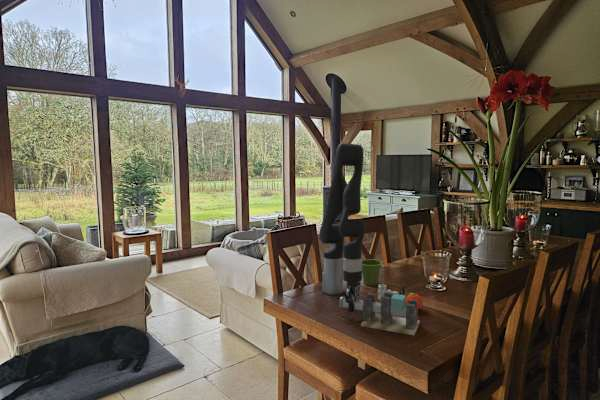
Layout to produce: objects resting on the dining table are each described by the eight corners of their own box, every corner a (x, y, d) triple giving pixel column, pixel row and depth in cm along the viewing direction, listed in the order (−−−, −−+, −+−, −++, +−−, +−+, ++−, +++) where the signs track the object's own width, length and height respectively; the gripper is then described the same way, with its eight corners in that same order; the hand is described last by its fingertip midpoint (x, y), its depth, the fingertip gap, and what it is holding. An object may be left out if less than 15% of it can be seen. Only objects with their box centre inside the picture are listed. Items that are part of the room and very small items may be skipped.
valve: (377, 301, 176) (404, 303, 173) (377, 287, 175) (404, 289, 172) (378, 296, 182) (404, 298, 179) (378, 282, 182) (404, 284, 178)
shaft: (339, 308, 158) (339, 298, 158) (343, 305, 162) (342, 294, 162) (413, 321, 145) (413, 309, 145) (416, 316, 149) (416, 305, 149)
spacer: (390, 308, 148) (390, 298, 148) (393, 303, 153) (393, 293, 152) (402, 310, 146) (402, 299, 146) (405, 305, 151) (405, 295, 150)
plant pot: (367, 278, 209) (367, 258, 208) (386, 283, 201) (387, 261, 200) (354, 283, 201) (354, 262, 200) (374, 289, 193) (374, 266, 191)
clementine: (400, 308, 167) (400, 292, 167) (410, 304, 171) (410, 288, 171) (415, 314, 161) (416, 297, 160) (425, 309, 165) (426, 293, 164)
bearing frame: (360, 325, 151) (360, 297, 149) (369, 314, 161) (369, 287, 160) (414, 335, 142) (414, 304, 141) (419, 322, 152) (420, 294, 151)
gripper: (349, 263, 164) (349, 302, 166) (337, 272, 152) (337, 315, 153) (366, 265, 161) (366, 305, 163) (355, 274, 148) (356, 318, 150)
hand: (352, 309), depth 158 cm, fingers closed on shaft, 3 cm apart
